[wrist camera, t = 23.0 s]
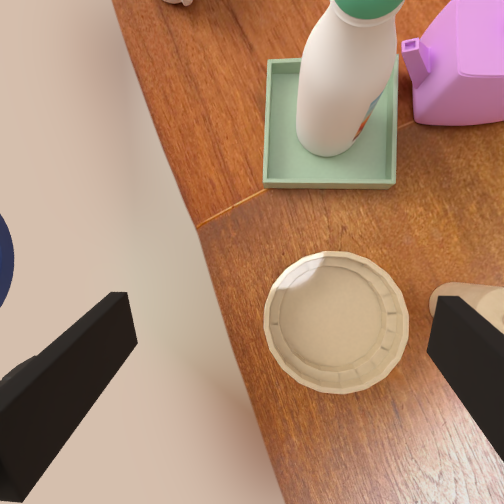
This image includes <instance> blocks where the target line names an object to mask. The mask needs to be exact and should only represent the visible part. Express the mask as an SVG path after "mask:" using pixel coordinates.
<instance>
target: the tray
mask: <svg viewBox="0 0 504 504" xmlns="http://www.w3.org/2000/svg"><path fill="white" fill-rule="evenodd" d="M301 60H302V58H291V59H268V64H267V88H266V112H265V137H264V161H263V185H264V188H313V189H389V188H390V187H392V186H393V185H394V184H396V149H397V106H398V63H399V54H396V57H395V62H394V66H393V70H392V73H391V75H390V78H389V80H388V82H387V84H386V87H385V89H384V91H383V93H382V95H381V97H380V99H379V100H378V102H377V104H376V106H375V108H374V110H373V111H372V113H371V115H370V117H369V119H368V120H367V122H366V124H365V126H364V128H363V129H362V131H361V133H360V135H359V136H358V138H357V140H356V141H355V143H354V144H353V145H352V146H351V147H350V148H349V149H348V150H346V151H345V152H343V153H341V154H339V155H335V156H330V157H324V156H318V155H315V154H313V153H311V152H309V151H308V150H306V149H305V148H304V147H303V146H302V144H301V143H300V141H299V139H298V137H297V133H296V113H297V98H298V85H299V74H300V67H301Z"/></svg>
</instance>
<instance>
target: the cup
mask: <svg viewBox="0 0 504 504" xmlns="http://www.w3.org/2000/svg"><path fill="white" fill-rule="evenodd" d="M163 1H165V2H168V3H173V4H174V3H181V2H182V3H183V5H184V6H188V5H190V4H191V3H192V2H193V0H163Z"/></svg>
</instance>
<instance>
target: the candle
mask: <svg viewBox="0 0 504 504" xmlns="http://www.w3.org/2000/svg"><path fill="white" fill-rule="evenodd" d="M438 296H459V297H461V298H462V299H463V300H464V301H465V302H466V303H468V304H469V305H470V306H471V307H472V308H474V309H475V310H476V311H477V312H478V313H479V314H481V315H482V316H483V317H484V318H485V319H486V320H488V321H489V322H490V323H491V324H492V325H493V326H495V327H496V328H497V329H498V330H499V331H500V332H502V333H503V334H504V287H500V286H490V285H481V284H471V283H461V282H450V283H445V284H443V285H441V286H439V287H437V288H436V289H435V290H434V291H433V293H432V295H431V297H430V300H429V310H430V313H431V315H432V317H433V318H434V313H435V309H436V304H437V299H438Z"/></svg>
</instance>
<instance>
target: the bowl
mask: <svg viewBox="0 0 504 504" xmlns="http://www.w3.org/2000/svg"><path fill="white" fill-rule="evenodd" d="M263 328H264V332H265V336H266V339H267V343H268V346H269V349H270V351H271V353H272V354H273V356H274V358H275V359H276V361H277V362H278V364H279V365H280V367H281V368H282V369H283V370H284V371H285V372H286V373H287V374H289V375H290V376H291V377H292V378H293V379H295V380H296V381H297V382H298V383H300V384H302V385H304V386H307V387H309V388H311V389H314V390H316V391H319V392H323V393H333V394H348V393H352V392H357V391H361V390H366V389H368V388H369V387H371V386H373V385H374V384H376V383H377V382H379V381H381V380H382V379H384V378H385V377H387V375H388V374H389V373H390V372H391V371H392V369H393V368H394V367H395V366H396V364H397V363H398V362H399V361H400V360H401V357H402V354H403V352H404V349H405V346H406V344H407V341H408V338H409V314H408V310H407V307H406V304H405V301H404V298H403V294H402V292H401V291H400V289H399V288H398V286H397V285H396V284H395V282H394V281H393V279H392V278H391V277H390V275H389V274H388V273H387V272H386V271H384V270H383V269H382V268H380V267H379V266H378V265H376V264H375V263H374V262H372V261H371V260H369V259H367V258H364V257H361V256H358V255H356V254H353V253H350V252H341V251H323V252H319V253H316V254H312V255H309V256H305V257H302V258H301V259H299V260H298V261H296V262H295V263H293V264H292V265H290V266H289V267H287V268H286V269H285V270H284V271H283V272H282V274H281V275H280V276H279V277H278V279H277V280H276V281H275V282H274V284H273V285H272V287H271V290H270V292H269V295H268V298H267V300H266V303H265V306H264V327H263Z"/></svg>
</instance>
